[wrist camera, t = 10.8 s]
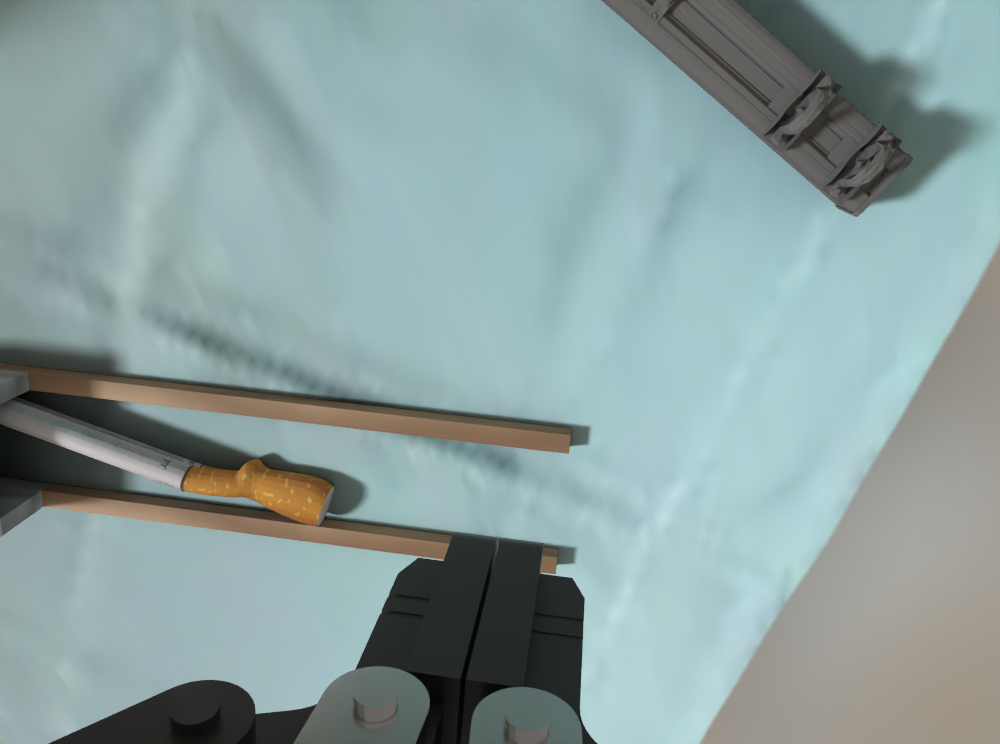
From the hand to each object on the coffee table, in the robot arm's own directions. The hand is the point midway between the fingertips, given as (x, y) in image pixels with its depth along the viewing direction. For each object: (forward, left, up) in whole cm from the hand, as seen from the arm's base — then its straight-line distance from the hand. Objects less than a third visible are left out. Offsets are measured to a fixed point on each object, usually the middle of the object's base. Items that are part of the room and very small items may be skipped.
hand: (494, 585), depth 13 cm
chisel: (+12, -21, -28) cm, 37 cm away
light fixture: (-9, +7, -28) cm, 30 cm away
